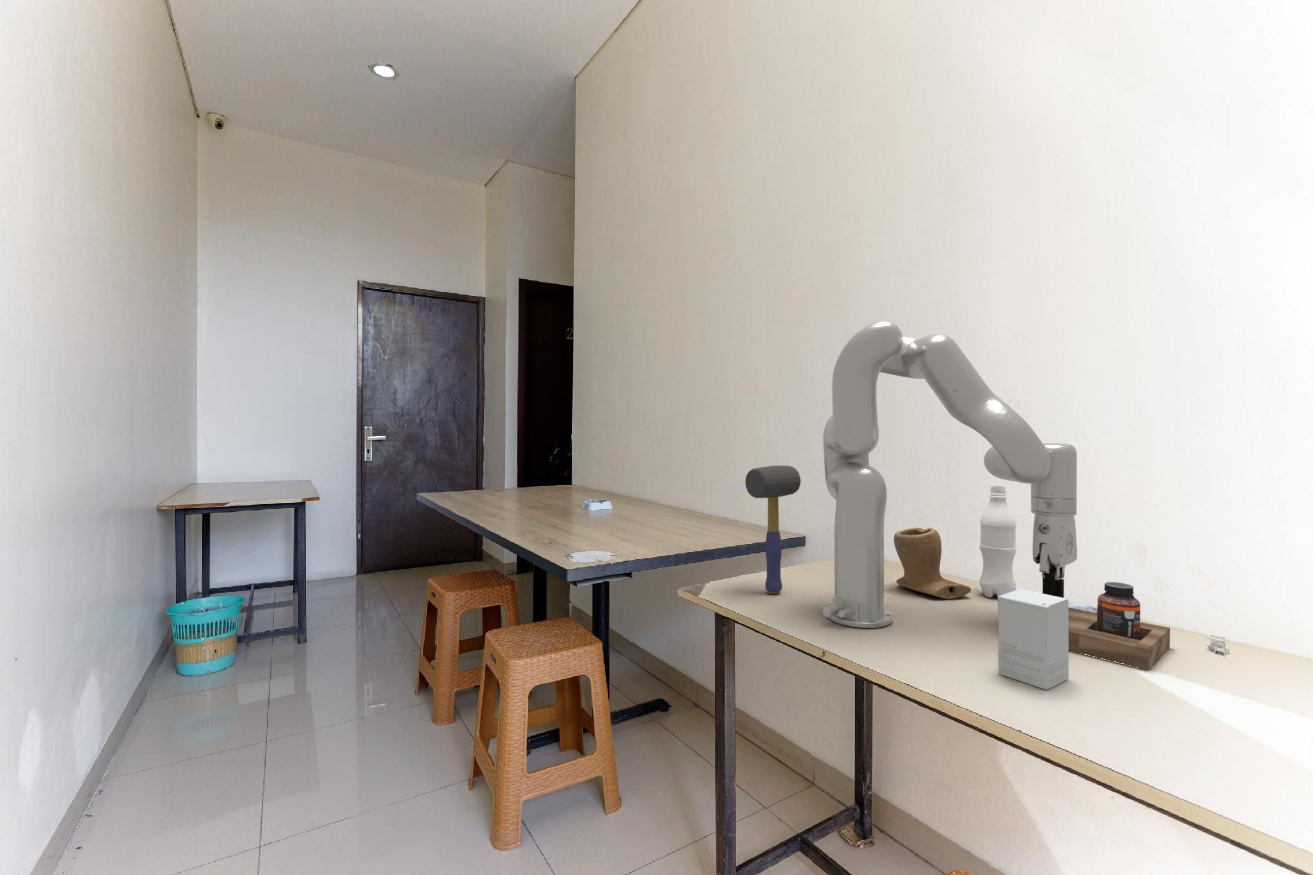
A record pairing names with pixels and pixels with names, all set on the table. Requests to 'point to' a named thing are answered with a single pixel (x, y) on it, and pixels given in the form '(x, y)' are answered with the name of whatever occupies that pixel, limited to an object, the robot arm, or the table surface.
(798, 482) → the rubber mallet
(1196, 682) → the table surface
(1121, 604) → the supplement bottle
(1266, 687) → the table surface
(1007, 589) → the water bottle
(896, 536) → the tan boot-shaped piece
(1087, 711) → the table surface
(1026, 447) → the robot arm
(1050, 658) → the supplement box
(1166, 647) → the socket block
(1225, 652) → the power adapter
